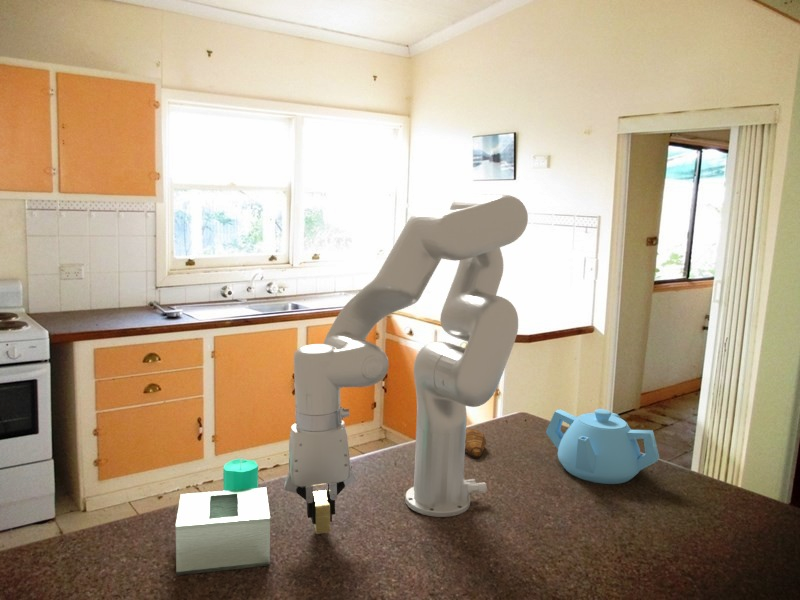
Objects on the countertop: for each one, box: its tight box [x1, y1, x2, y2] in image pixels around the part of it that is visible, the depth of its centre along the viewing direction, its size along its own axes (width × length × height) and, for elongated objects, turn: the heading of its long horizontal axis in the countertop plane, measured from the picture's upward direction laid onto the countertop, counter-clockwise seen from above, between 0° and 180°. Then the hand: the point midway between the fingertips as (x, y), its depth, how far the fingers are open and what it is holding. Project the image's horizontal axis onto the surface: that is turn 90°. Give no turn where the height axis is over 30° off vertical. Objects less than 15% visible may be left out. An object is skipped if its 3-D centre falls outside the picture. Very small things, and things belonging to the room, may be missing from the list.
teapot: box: [545, 408, 660, 485], centre depth 142 cm, size 19×19×14 cm
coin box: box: [175, 486, 271, 576], centre depth 104 cm, size 14×11×8 cm
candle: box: [222, 456, 259, 491], centre depth 114 cm, size 6×6×12 cm
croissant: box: [465, 428, 487, 459], centre depth 153 cm, size 14×7×5 cm, turn 5°
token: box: [313, 489, 331, 535], centre depth 111 cm, size 2×5×5 cm, turn 15°
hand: (321, 518), depth 111 cm, fingers closed on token, 2 cm apart
